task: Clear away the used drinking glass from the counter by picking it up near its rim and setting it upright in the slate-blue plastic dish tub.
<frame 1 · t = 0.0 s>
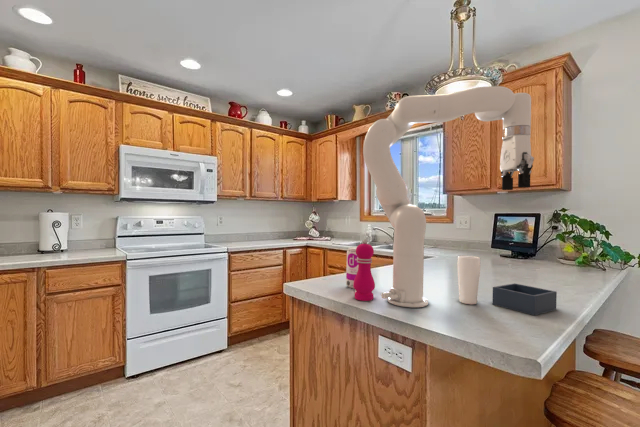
hand: (515, 188, 99), 37 cm above the counter, tool pointing down, fingers open, 9 cm apart
supplement can: (356, 287, 123), on the counter
pepper mill: (363, 299, 106), on the counter
dish tub: (523, 306, 99), on the counter
drinking glass: (467, 303, 103), on the counter
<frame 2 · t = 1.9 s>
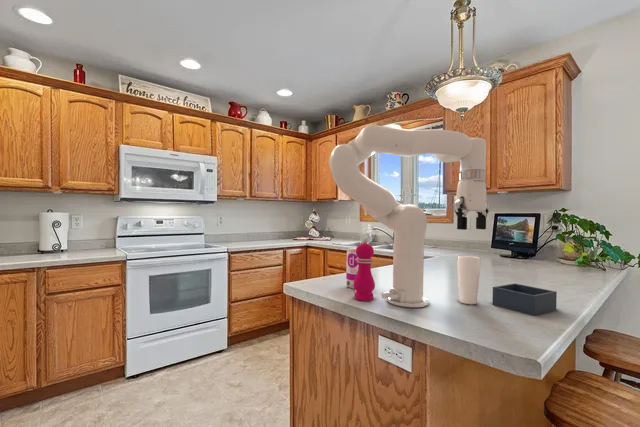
hand: (471, 229, 103), 24 cm above the counter, tool pointing down, fingers open, 9 cm apart
nothing on the counter moved.
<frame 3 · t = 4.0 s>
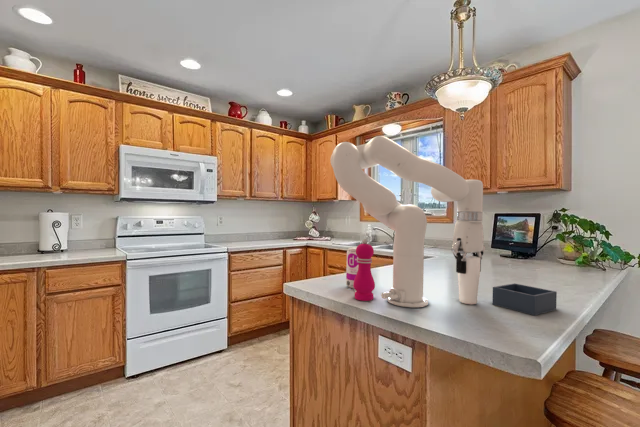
hand: (468, 271, 103), 10 cm above the counter, tool pointing down, fingers closed on drinking glass, 6 cm apart
drinking glass: (467, 303, 103), on the counter, touching gripper
everything else where it was.
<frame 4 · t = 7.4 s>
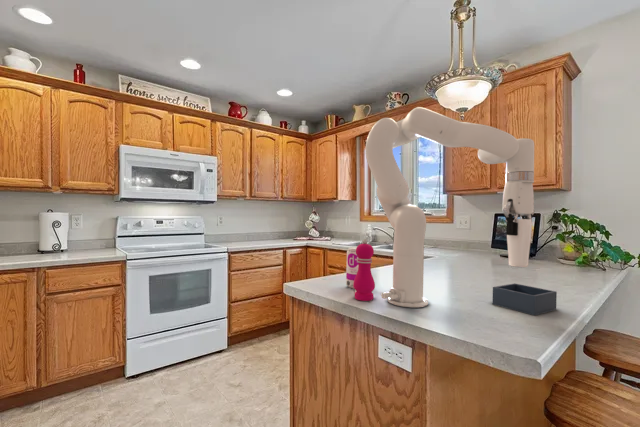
hand: (518, 234, 100), 23 cm above the counter, tool pointing down, fingers closed on drinking glass, 6 cm apart
drinking glass: (518, 267, 100), point 13 cm above the counter, touching gripper
everything else where it was.
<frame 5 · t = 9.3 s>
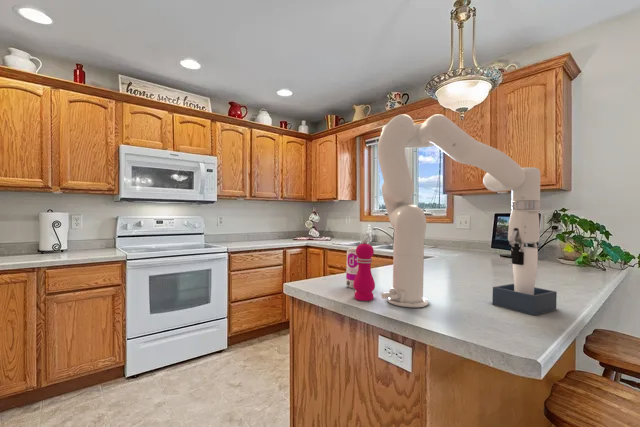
hand: (524, 263, 99), 14 cm above the counter, tool pointing down, fingers closed on drinking glass, 6 cm apart
drinking glass: (523, 295, 99), point 4 cm above the counter, touching gripper
everything else where it was.
when the fingers open (11 cm above the counter, at t = 10.8 s): drinking glass stays where it is, resting on dish tub.
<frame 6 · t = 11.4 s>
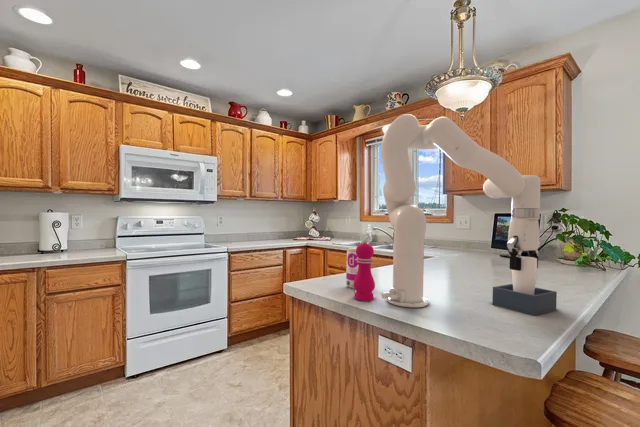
hand: (523, 268, 99), 12 cm above the counter, tool pointing down, fingers open, 9 cm apart
drinking glass: (523, 305, 99), resting on dish tub
everything else where it was.
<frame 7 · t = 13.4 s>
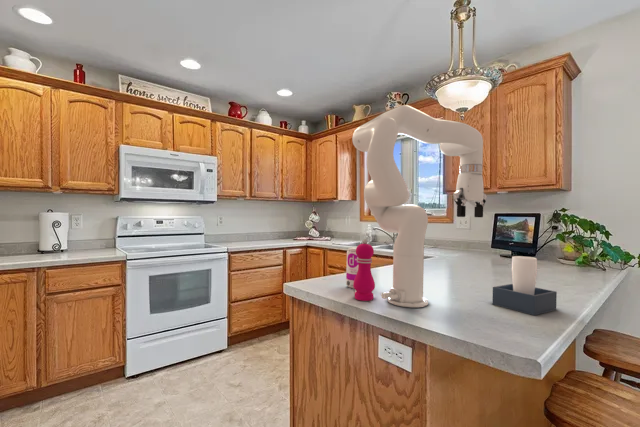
hand: (470, 217, 116), 28 cm above the counter, tool pointing down, fingers open, 9 cm apart
nothing on the counter moved.
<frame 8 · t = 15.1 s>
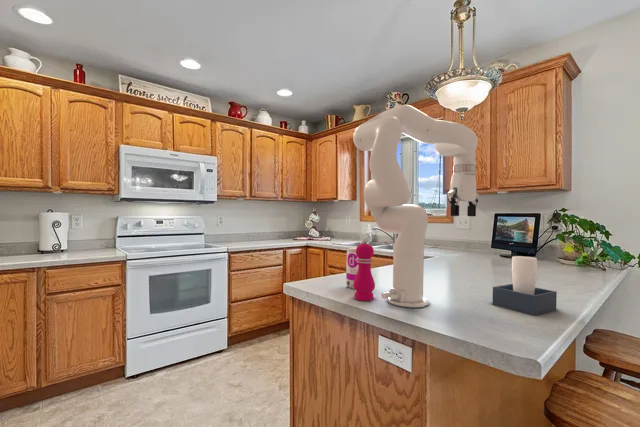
hand: (463, 216, 118), 28 cm above the counter, tool pointing down, fingers open, 9 cm apart
nothing on the counter moved.
at the end: drinking glass inside the target area in the dish tub (0.0 cm from its centre), point 0.4 cm above the dish tub's base; drinking glass tilted 0°; the gripper is holding nothing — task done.
